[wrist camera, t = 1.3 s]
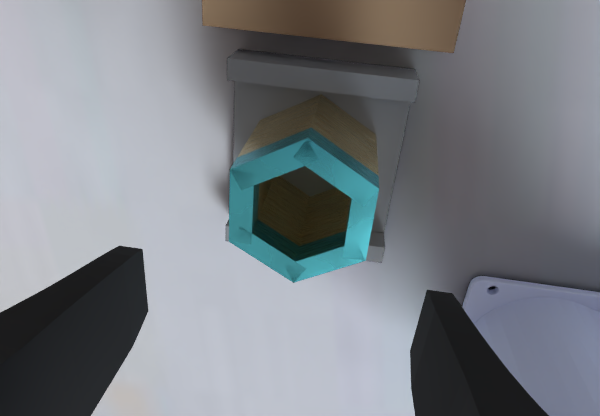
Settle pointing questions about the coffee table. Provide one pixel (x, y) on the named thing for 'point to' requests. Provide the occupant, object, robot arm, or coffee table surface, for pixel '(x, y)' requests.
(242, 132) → the tray
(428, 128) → the coffee table surface
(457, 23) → the pin board
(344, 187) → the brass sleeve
